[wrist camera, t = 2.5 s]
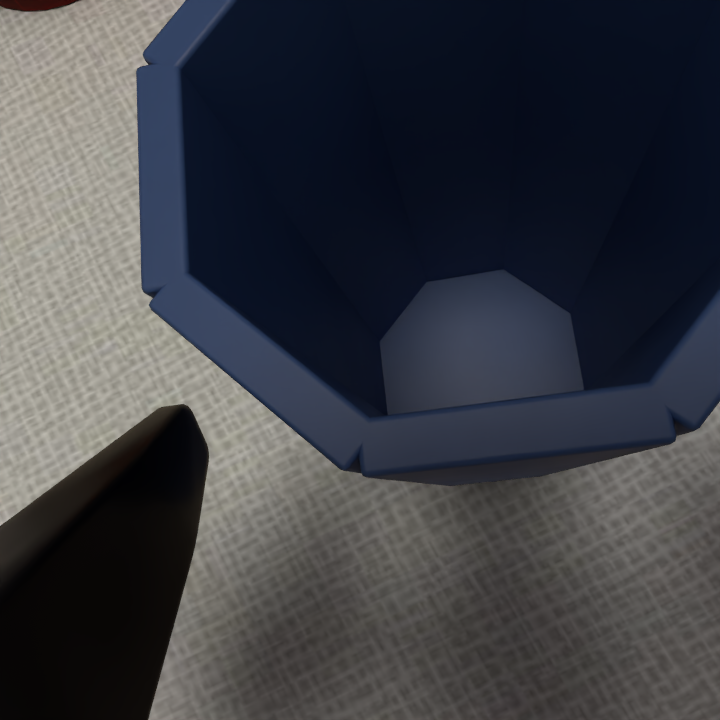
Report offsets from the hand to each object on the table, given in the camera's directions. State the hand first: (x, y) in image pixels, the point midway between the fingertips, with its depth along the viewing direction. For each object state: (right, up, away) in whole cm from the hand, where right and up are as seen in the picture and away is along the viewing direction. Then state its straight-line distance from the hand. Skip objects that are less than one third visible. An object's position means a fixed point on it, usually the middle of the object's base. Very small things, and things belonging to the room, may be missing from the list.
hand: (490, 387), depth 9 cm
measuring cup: (+1, +2, +10) cm, 10 cm away
